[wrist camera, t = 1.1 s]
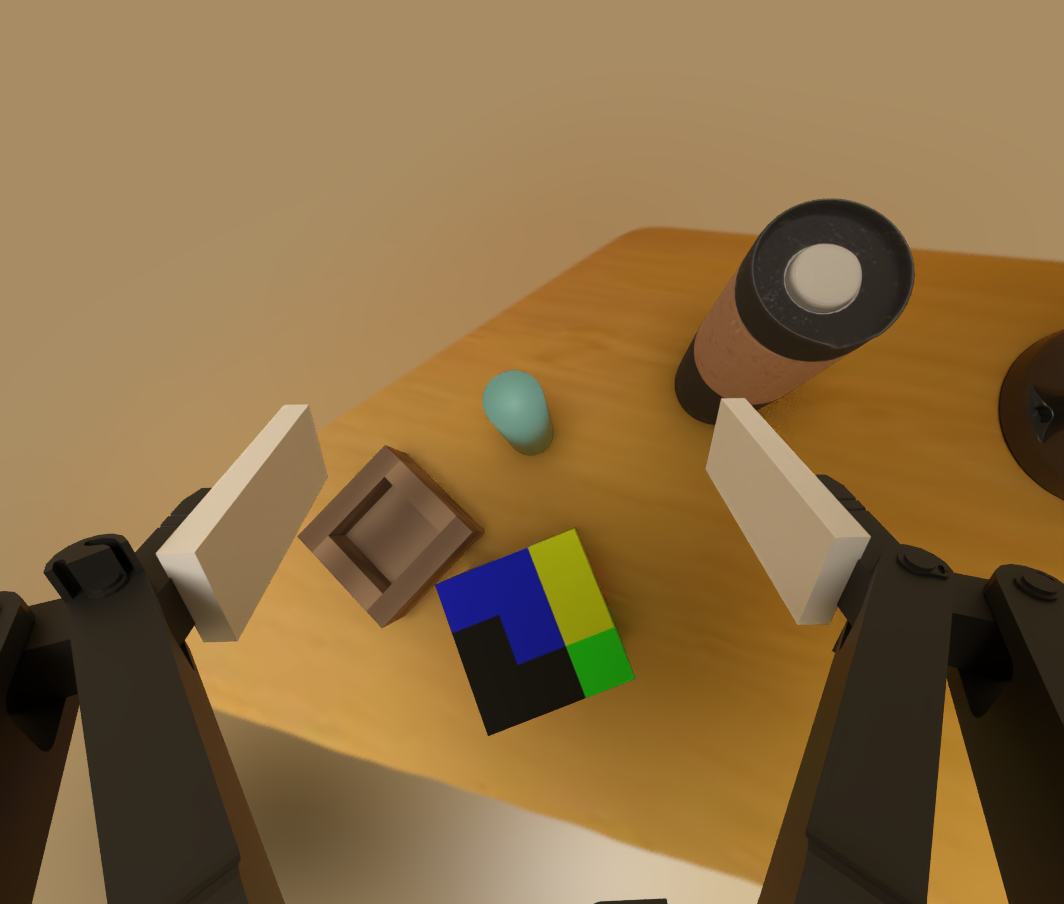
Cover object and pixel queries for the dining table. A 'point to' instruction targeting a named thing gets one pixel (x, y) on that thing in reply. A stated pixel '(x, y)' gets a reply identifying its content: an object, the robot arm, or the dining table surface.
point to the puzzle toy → (534, 632)
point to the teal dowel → (519, 411)
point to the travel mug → (797, 305)
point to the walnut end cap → (390, 535)
